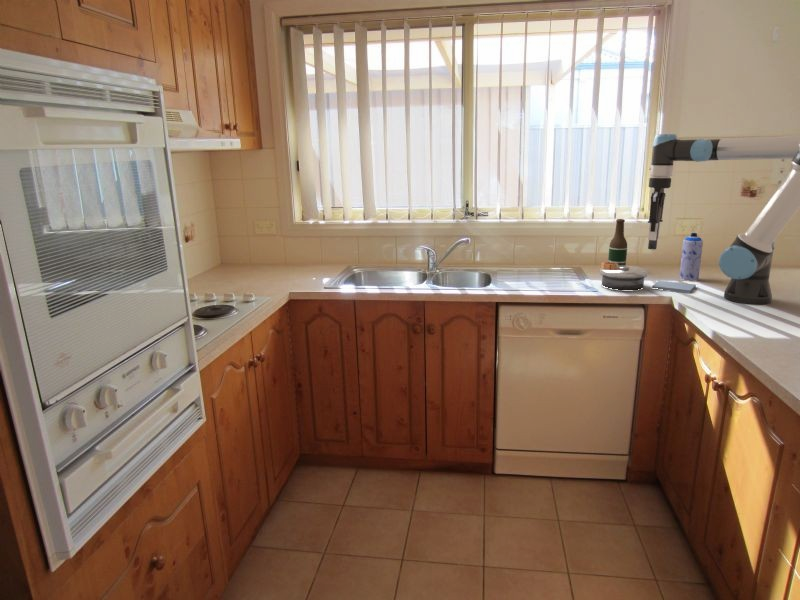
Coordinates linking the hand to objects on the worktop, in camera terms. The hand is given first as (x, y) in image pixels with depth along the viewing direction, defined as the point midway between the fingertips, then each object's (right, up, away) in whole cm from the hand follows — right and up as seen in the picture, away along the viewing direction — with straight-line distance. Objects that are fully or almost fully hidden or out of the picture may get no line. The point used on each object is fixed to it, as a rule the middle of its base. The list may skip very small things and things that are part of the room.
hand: (653, 239), depth 216 cm
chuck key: (0, -4, +1) cm, 4 cm away
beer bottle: (+3, -10, +46) cm, 47 cm away
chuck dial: (-6, -13, +14) cm, 20 cm away
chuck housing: (-6, -18, +15) cm, 24 cm away
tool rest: (+13, -19, +11) cm, 26 cm away
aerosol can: (+27, -15, +27) cm, 41 cm away
